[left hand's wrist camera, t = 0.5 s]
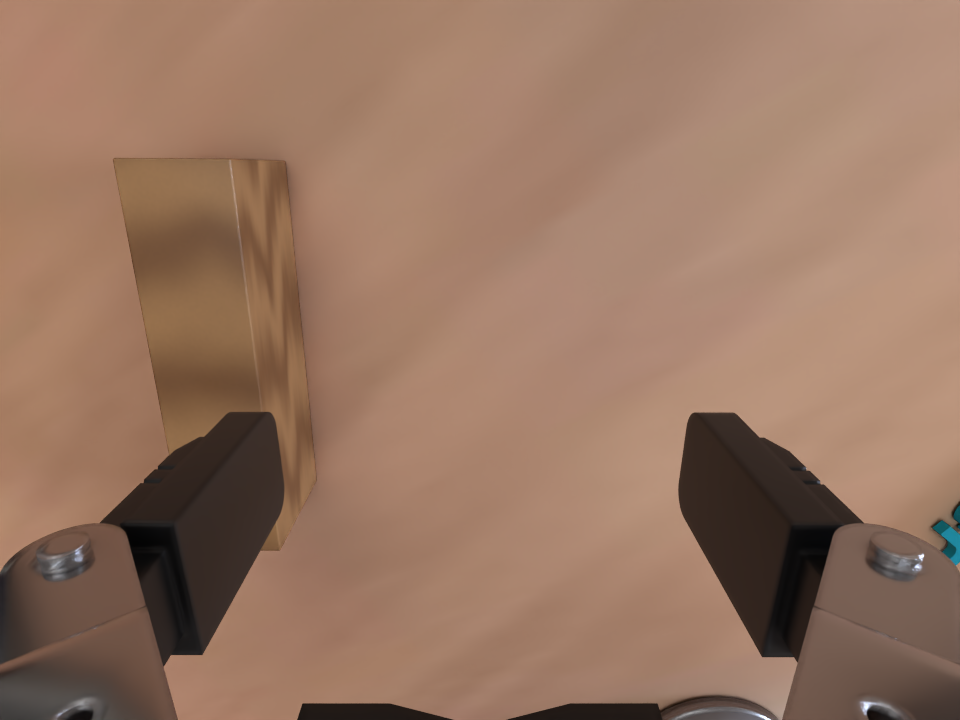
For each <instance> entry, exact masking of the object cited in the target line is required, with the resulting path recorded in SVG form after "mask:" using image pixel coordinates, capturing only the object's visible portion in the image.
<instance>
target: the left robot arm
mask: <svg viewBox="0 0 960 720" xmlns="http://www.w3.org/2000/svg"><path fill="white" fill-rule="evenodd" d="M284 490H285V488H284V477H283V470H282V463H281V455H280V448H279V441H278V433H277V426H276V421H275V418H274V416H273V414H272V413H271V412H229V413H227V414H226V415H225V416H224V417H223V418H222V419H221V420H220V421H219V422H218V423H217V424H216V425H215V426H214V427H213V428H212V429H211V430H210V431H209V432H208V433H207V434H206V435H205V436H204V437H198V438H196V439H195V440H193V441H191V442H189V443H187V444H185V445H183V446H182V447H180V448H178V449H176V450H174V451H173V452H172V453H171V454H170V455H169V456H168V457H167V458H166V459H165V460H164V461H163V462H162V463H161V464H160V465H159V466H158V470H154V471H153V472H152V473H151V474H150V475H149V476H148V477H147V478H145V479H144V483H140V484H139V485H138V486H137V487H136V488H135V489H134V490H133V491H132V492H131V493H130V494H129V495H128V496H127V497H126V498H125V499H124V500H123V501H122V502H121V503H120V504H119V505H118V506H117V507H116V508H115V509H113V510H112V511H111V512H110V513H109V514H108V515H107V516H106V517H105V518H104V519H103V520H102V521H101V522H100V523H94V524H85V525H79V526H74V527H71V528H67V529H63V530H60V531H58V532H55V533H52V534H50V535H47V536H45V537H43V538H41V539H39V540H37V541H35V542H33V543H31V544H30V545H28V546H26V547H25V548H23V549H22V550H20V551H19V552H18V553H16V554H15V555H14V556H13V557H12V558H11V559H10V560H9V561H8V562H7V563H6V564H5V565H4V567H3V569H2V570H1V572H0V720H178V719H177V715H176V711H175V708H174V704H173V700H172V697H171V693H170V689H169V686H168V682H167V678H166V675H165V671H164V665H165V664H166V662H167V660H168V659H169V657H170V655H203V653H204V651H205V649H206V647H207V646H208V644H209V642H210V640H211V638H212V637H213V635H214V633H215V631H216V629H217V628H218V626H219V624H220V622H221V620H222V619H223V617H224V615H225V613H226V611H227V610H228V608H229V606H230V604H231V602H232V601H233V599H234V597H235V595H236V593H237V592H238V590H239V588H240V586H241V584H242V583H243V581H244V579H245V577H246V575H247V574H248V572H249V570H250V568H251V566H252V565H253V563H254V561H255V559H256V557H257V555H258V554H259V552H260V550H261V548H262V546H263V545H264V543H265V541H266V539H267V537H268V536H269V534H270V532H271V530H272V528H273V527H274V525H275V523H276V521H277V519H278V518H279V516H280V513H281V510H282V507H283V502H284ZM678 491H679V503H680V508H681V511H682V514H683V517H684V519H685V520H686V522H687V524H688V526H689V527H690V529H691V531H692V533H693V535H694V536H695V538H696V540H697V542H698V544H699V545H700V547H701V549H702V551H703V552H704V554H705V556H706V558H707V560H708V561H709V563H710V565H711V567H712V568H713V570H714V572H715V574H716V576H717V577H718V579H719V581H720V583H721V584H722V586H723V588H724V590H725V592H726V593H727V595H728V597H729V599H730V601H731V602H732V604H733V606H734V608H735V609H736V611H737V613H738V615H739V617H740V618H741V620H742V622H743V624H744V625H745V627H746V629H747V631H748V633H749V634H750V636H751V638H752V640H753V641H754V643H755V645H756V647H757V649H758V650H759V652H760V654H761V656H762V657H794V658H795V659H796V661H797V662H798V664H797V667H796V671H795V675H794V678H793V682H792V686H791V689H790V693H789V697H788V700H787V704H786V708H785V711H784V715H783V719H782V720H960V572H959V570H958V569H957V567H956V565H955V564H954V563H953V562H952V561H951V560H950V559H949V558H948V557H947V556H946V555H945V554H944V553H942V552H941V551H940V550H938V549H937V548H935V547H934V546H932V545H930V544H929V543H927V542H925V541H923V540H921V539H919V538H917V537H915V536H913V535H910V534H908V533H905V532H902V531H900V530H897V529H893V528H889V527H886V526H881V525H875V524H866V523H863V522H862V521H861V520H860V519H859V518H858V517H857V516H856V515H855V514H854V513H853V512H852V511H851V510H850V509H849V508H848V507H847V506H846V505H845V504H844V503H843V502H842V501H840V500H839V499H838V498H837V497H836V496H835V495H834V494H833V493H832V492H831V491H830V490H829V489H828V488H827V487H826V486H825V485H821V484H820V480H819V479H818V478H817V477H815V476H814V475H813V474H812V473H811V472H810V471H806V467H805V466H804V465H803V464H802V463H801V462H800V461H799V460H798V459H797V458H796V457H795V456H794V455H793V454H792V453H790V452H789V451H788V450H786V449H784V448H782V447H780V446H778V445H777V444H775V443H773V442H771V441H769V440H767V439H765V438H759V437H758V436H757V435H756V434H755V433H754V432H753V431H752V430H751V428H750V427H749V426H748V425H747V424H746V423H745V422H744V421H743V420H742V419H741V418H740V417H739V416H738V415H737V414H735V413H692V414H691V416H690V417H689V420H688V423H687V428H686V435H685V442H684V450H683V457H682V464H681V471H680V478H679V489H678ZM297 720H452V719H448V718H444V717H440V716H437V715H433V714H429V713H425V712H421V711H417V710H413V709H409V708H405V707H401V706H397V705H393V704H302V707H301V710H300V713H299V716H298V719H297ZM508 720H663V719H662V716H661V713H660V710H659V707H658V704H567V705H563V706H559V707H555V708H551V709H547V710H543V711H539V712H535V713H531V714H527V715H523V716H520V717H516V718H512V719H508Z"/></svg>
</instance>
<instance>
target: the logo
mask: <svg viewBox="0 0 960 720" xmlns="http://www.w3.org/2000/svg"><path fill="white" fill-rule="evenodd" d="M954 519H955V520H956V521H957V522H959V523H960V505H959V506H958V508H957V509H956V511H955V513H954ZM957 528H959V529H960V525H959V526H958V527H957ZM933 529H934V530H935V531H937V532H938V533H939V534H940V535H941V536H943V537H944V538H945V539H946V540H947V541H948V545H947V547H946V549H945V550H944V551H942V553H944V554H945V555H946V556H947V557H948V558H949V559H950V560H951V561H952V562H953V563H954V564H955V565H957V564H958V563H959V562H960V534H959V533H958V532H956V531H955V530H954V529H953V528H952V527H950V526H949V525H948V524H947V523H945V522H944V521H943V520H942V521H940V522H939V523H938V524H937V525H935V526H934V527H933Z"/></svg>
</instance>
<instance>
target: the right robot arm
mask: <svg viewBox="0 0 960 720" xmlns="http://www.w3.org/2000/svg"><path fill="white" fill-rule="evenodd" d="M661 716H662V719H663V720H778V719H777V718H776V717H775V716H774V715H773V714H772V713H770V712H769V711H767V710H766V709H764V708H762V707H761V706H759V705H756V704H754V703H751V702H748V701H745V700H741V699H736V698H727V697H709V698H701V699H695V700H690V701H687V702H683V703H680V704H678V705H675V706H673V707H670V708H668V709H666V710H664V711H663V712H661Z"/></svg>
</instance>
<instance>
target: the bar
mask: <svg viewBox="0 0 960 720" xmlns="http://www.w3.org/2000/svg"><path fill="white" fill-rule="evenodd" d="M113 162H114V168H115V173H116V178H117V183H118V189H119V194H120V199H121V204H122V210H123V215H124V220H125V225H126V231H127V236H128V241H129V246H130V252H131V257H132V262H133V267H134V273H135V278H136V283H137V288H138V294H139V299H140V304H141V309H142V315H143V320H144V325H145V330H146V336H147V341H148V346H149V351H150V356H151V362H152V367H153V372H154V377H155V383H156V388H157V393H158V398H159V404H160V409H161V414H162V419H163V425H164V430H165V435H166V440H167V446H168V451H169V455H170V454H171V453H172V452H173V451H174V450H176V449H178V448H180V447H182V446H183V445H185V444H187V443H189V442H191V441H193V440H195V439H196V438H198V437H204V436H205V435H206V434H207V433H208V432H209V431H210V430H211V429H212V428H213V427H214V426H215V425H216V424H217V423H218V422H219V421H220V420H221V419H222V418H223V417H224V416H225V415H226V414H227V413H229V412H271V413H272V414H273V416H274V418H275V421H276V426H277V433H278V441H279V448H280V455H281V463H282V470H283V477H284V488H285V490H284V502H283V507H282V510H281V513H280V516H279V518H278V519H277V521H276V523H275V525H274V527H273V528H272V530H271V532H270V534H269V536H268V537H267V539H266V541H265V543H264V545H263V546H262V548H261V550H260V551H279V550H280V549H281V547H282V546H283V544H284V542H285V540H286V538H287V536H288V534H289V532H290V530H291V528H292V526H293V524H294V523H295V521H296V519H297V517H298V515H299V513H300V511H301V509H302V507H303V505H304V503H305V501H306V500H307V498H308V496H309V494H310V492H311V490H312V488H313V486H314V484H315V482H316V480H317V479H316V469H315V459H314V449H313V438H312V428H311V418H310V408H309V398H308V387H307V377H306V367H305V357H304V347H303V336H302V326H301V316H300V306H299V296H298V285H297V275H296V265H295V255H294V245H293V234H292V224H291V214H290V204H289V194H288V183H287V173H286V163H285V161H274V160H247V159H184V158H114V159H113Z"/></svg>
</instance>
